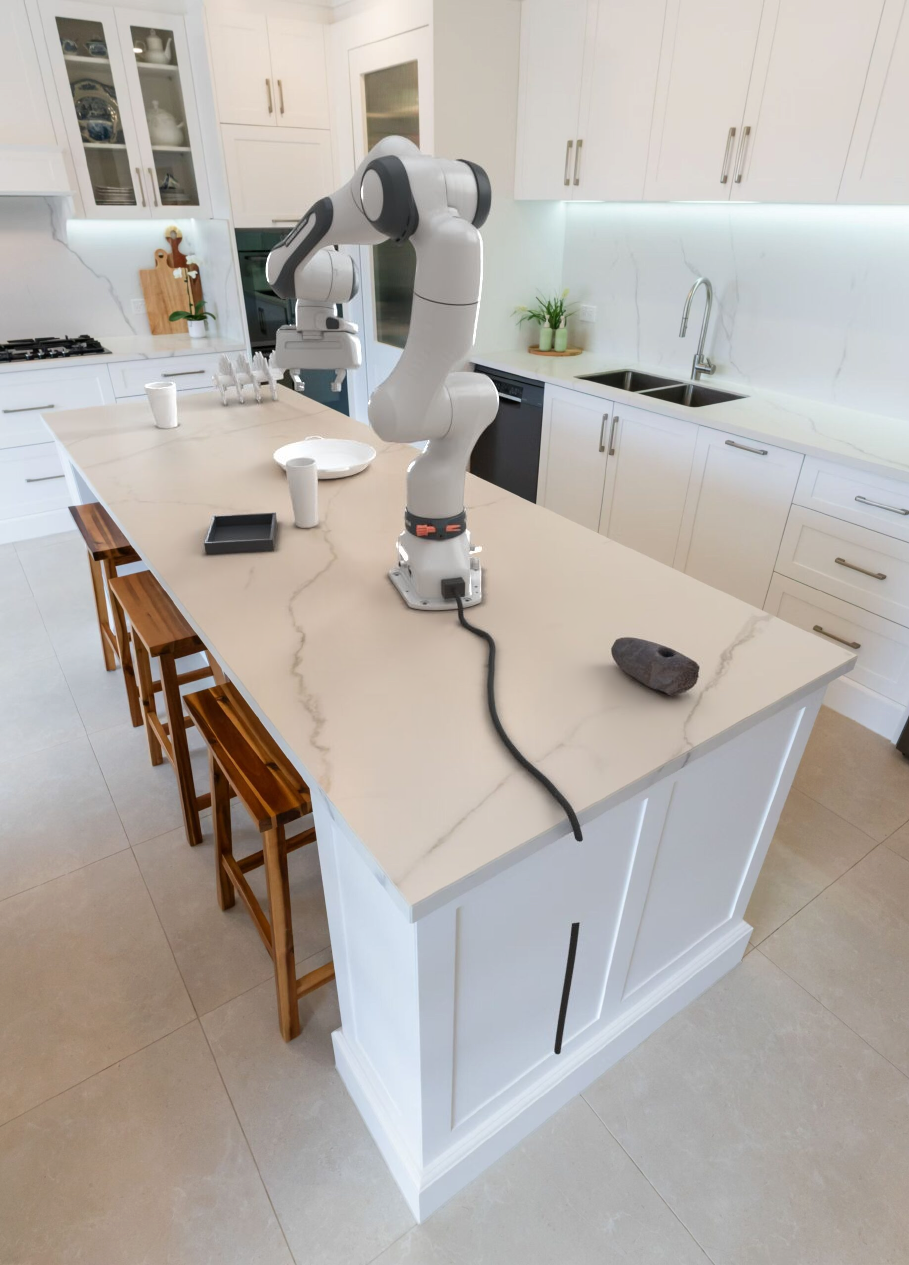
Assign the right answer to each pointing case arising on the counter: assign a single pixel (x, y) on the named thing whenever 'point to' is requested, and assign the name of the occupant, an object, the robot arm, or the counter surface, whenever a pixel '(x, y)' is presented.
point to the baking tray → (241, 533)
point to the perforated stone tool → (655, 665)
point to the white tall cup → (303, 490)
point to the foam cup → (163, 403)
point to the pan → (329, 456)
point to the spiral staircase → (247, 374)
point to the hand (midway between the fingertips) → (317, 391)
